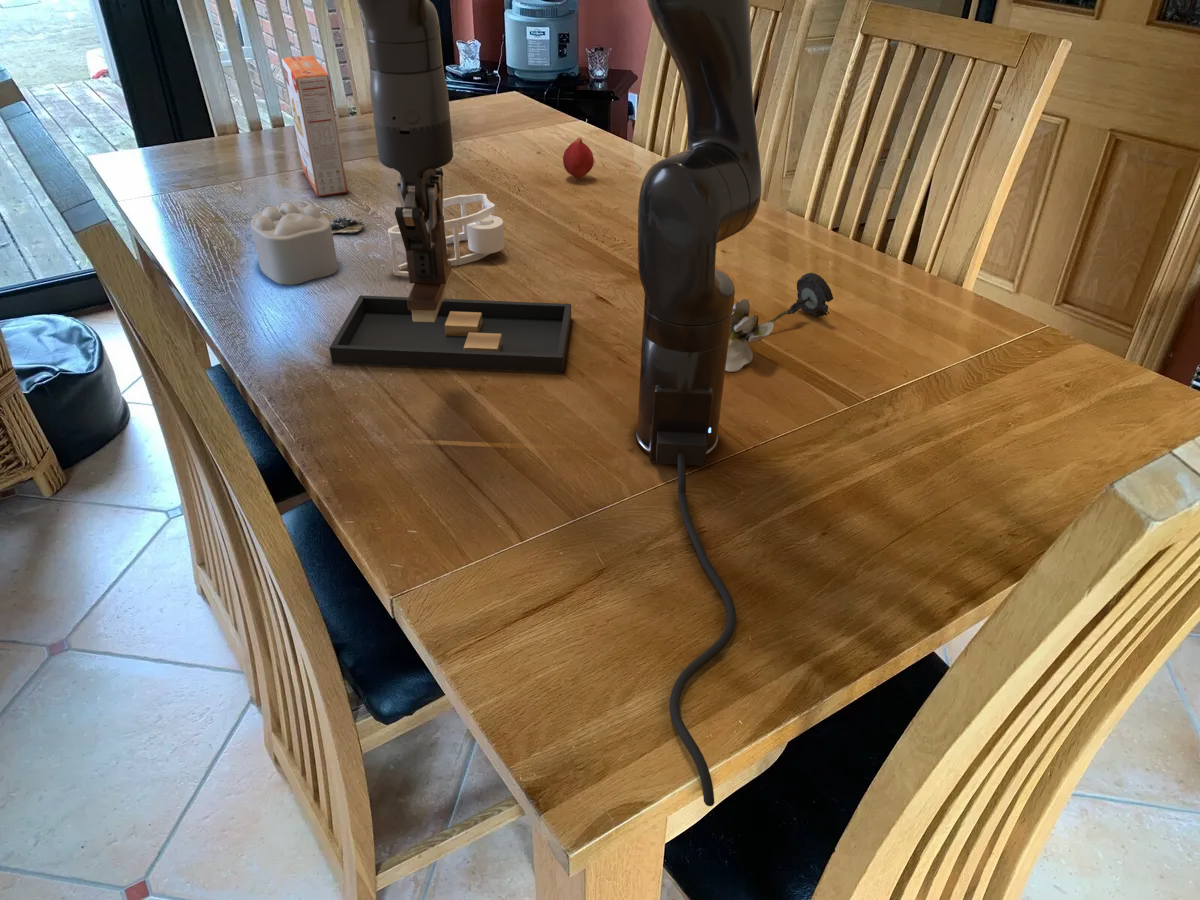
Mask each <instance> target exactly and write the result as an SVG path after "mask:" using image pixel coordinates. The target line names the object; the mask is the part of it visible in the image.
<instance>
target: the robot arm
mask: <svg viewBox="0 0 1200 900" xmlns="http://www.w3.org/2000/svg"><path fill="white" fill-rule="evenodd" d="M356 2H357V5H358V6H359V9H360V12H361V15H362V19H363V28H364V38H365V44H366V52H367V59H368V66H369V68H368V69H369V93H370V102H371V109H372V116H373V124H374V125H373V126H374V132H375V139H376V147H377V154H378V155H377V156H378V159H379V162H380V163H381V164H382V165H383V166H385V167H386V168H389V169H393V170H395V171H396V172H398V173H399V174H400V175H399V176H400V179H399V181H400V182H397V184H396V195H397V199H398V201H399V202H400V206H396V207H395V210H394V216H395V220H396V223H397V225H398V226H399V229H400V233H401V236H402V239H403V241H402V242H403V245H404V246H403V247H404V249H406V250H405V252H406V251H411V250H413V258H414V267H415V275H416V279H417V280H418V281H435V279H436V277H437V272H436V262H435V252H434V247H435V242H434V236H433V228H434V227H435V226H436V224H437V215H443V209H444V207H443V199H444V198H443V197H444V192H443V191H444V188H443V186H444V185H443V184H444V183H443V181H444V179H443V176H444V171H443V168H442V167H444V166H446V165H448V164H449V163H450V162H451V161H452V160H453V158H454V146H453V136H452V135H453V134H452V124H451V109H450V99H449V90H448V84H447V80H446V74H445V69H444V61H443V49H442V39H441V27H440V20H439V16H438V15H439V14H438V11H437V9H436V7H435V5H434V3H433V2H431V0H356ZM646 2H647V7H648V9H649V12H650V15H651V17H652V20H653V23H654V25H655V27H656V29H657V30H658V32H659V35H660V37H661V39H662V41H663V43H664V45H665V47H666V49H667V51H668V53H669V54H670V56H671V58H672V60H673V62H674V64H675V67H676V69H677V71H678V73H679V77H680V81H681V82H682V87H683V91H684V97H685V105H686V120H687V144H686V149H685V150H683V151H680V152H678V153H676V154H672V155H670V156H667V157H665V158H663V159H661V160H659V161H657V162H656V163H654V164H653V165H652V166H651V167H650V168H649V170H648V171H647V172H646V173H645V175H644V178H643V180H642V183H641V187H640V190H639V195H638V197H639V198H638V207H637V268H638V275H639V279H640V283H641V285H642V288H643V292H644V301H643V302H644V303H643V318H642V334H641V349H640V350H641V351H640V353H641V354H640V367H639V369H640V370H639V371H640V372H639V387H638V389H639V390H638V403H637V404H638V406H637V426H636V430H635V439H636V443H637V445H638V447H639V448H640V449H641V450H642V451H643V452H645V453H646V454H647V455H648V456H649V461H650V462H655V464H660V465H661V464H662V465H677V497H678V503H679V508H680V514H681V517H682V521H683V523H684V527H685V529H686V531H687V534H688V536H689V538H690V540H691V542H692V545H693V548H694V551H695V552H696V555H697V556H698V559H699V561H700V563H701V566H702V567H703V569H704V571H705V573H706V574H707V576H708V577H709V579H710V580H711V582H712V583H713V585H714V586H715V588H716V589H717V591H718V592H719V595H720V597H721V598H722V601H723V604H724V607H725V612H726V613H725V614H726V621H725V627H724V629H723V632H722V633H721V635H720V637H718V639H717V640H716V641H715V642H714V643H713V644H712V645H711V646H710V647H709V648H708V649H706V650H705V651H704V652H702V653H701V654H700V655H699V656H698V657H696V658H695V659H694V660H693V661H691V662H690V663H689V665H687V666H686V667H685V668H684V669H683V670H682V672H681V673H680V674H679V676H678V677H677V678H676V680H675V683H674V684H673V687H672V688H671V693H670V696H669V704H668V707H669V715H670V719H671V722H672V724H673V727H674V730H675V731H676V734H677V735H678V737H679V738H680V739H681V741H682V743H683V744H684V746H685V748H686V749H687V751H688V753H689V754H690V756H691V758H692V760H693V762H694V764H695V766H696V768H697V773H698V775H699V778H700V784H701V788H702V797H703V803H704V804H705V806H707V807H713V806H714V805H715V793H714V792H715V791H714V785H713V781H712V775H711V772H710V770H709V767H708V763H707V762H706V761H707V760H706V759H705V757H704V754H703V753H702V751H701V749H700V747H699V746H698V744H697V742H696V741H695V739H694V737H693V736H692V734H691V732H689V730H688V728H687V726H686V725H685V723H684V721H683V718H682V715H681V707H680V704H681V697H682V692H683V690H684V688H685V686H686V685H687V683H688V682H689V680H690V679H691V678H692V677H693V676H694V675H695V674H696V673H697V672H698V671H700V669H702V668H703V667H704V666H705V665H706V664H707V663H708V662H710V661H712V659H714V658H715V657H716V656H717V655H719V653H720V652H722V650H723V649H724V648H725V647H726V646H727V645H728V643H729V642H730V640H731V638H732V636H733V634H734V632H735V628H736V624H737V611H736V605H735V602H734V600H733V597H732V595H731V593H730V591H729V589H728V587H727V586H726V585H725V582H724V581H723V579H722V578H721V577H720V575H719V574H718V572H717V570H716V569H715V568H714V567H713V565H712V563H711V561H710V559H709V557H708V555H707V552H706V551H705V548H704V546H703V544H702V541H701V539H700V537H699V535H698V532H697V530H696V527H695V526H694V523H693V520H692V517H691V514H690V510H689V505H688V500H687V472H686V471H687V470H686V466H705V464H706V460H707V457H709V456H710V455H711V454H713V452H715V450H716V449H717V446H718V443H719V442H718V441H719V427H720V418H721V410H722V409H721V408H722V401H723V391H724V384H725V375H726V371H725V368H726V359H727V351H728V343H729V336H730V327H731V319H732V311H733V307H734V305H735V303H734V301H735V294H736V291H735V284H734V282H733V280H732V278H730V276H729V275H727V274H726V273H725V272H723V271H721V270H720V269H718V268H716V257H717V246H718V245H717V244H718V243H720V242H722V241H725V240H726V239H729V238H731V237H732V236H734V235H736V234H738V233H739V232H741V231H742V230H744V229H745V228H746V227H748V226H749V224H750V223H751V222H752V221H754V218H755V217H756V215H757V213H758V209H759V207H760V205H761V204H760V203H761V197H762V169H761V158H760V149H759V141H758V139H759V138H758V131H757V124H756V123H757V122H756V114H755V104H754V91H753V75H752V74H753V73H752V69H753V68H752V34H751V33H752V31H751V0H646ZM429 216H430V218H429V219H424V217H429ZM415 237H416V238H415Z"/></svg>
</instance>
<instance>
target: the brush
mask: <svg viewBox="0 0 1200 900" xmlns="http://www.w3.org/2000/svg"><path fill="white" fill-rule="evenodd" d="M429 218H430V216H429V217H424V219H429ZM444 221H445V215H444V216H443V215H437V224H436V226H435V227H434V228H433V236H434V242H435V247H434V252H435V262H436V272H437V277H436V279H435V281H418V280H417V279H416V275H415V267H414V258H413V250H411V251H406V249H405V248H404V249H405V256H406V257H405V258H406V263H407V266H408V267H407V272H408V274H409V276H408V281H409V284H413V285H412V287H411V290H410V293H409V295H408V296H407V297H408V299H407V305H408V310H411V312H412V320H413V322H435V320H436V317H437V314H438V312H439V309H440V306H441V304H442V301H443V299H445V296H446V292H447V290H448V288H449V285H450V283H451V281H450V280H451V279H450V274H451V271H452V265H451V261H450V260H449V258H448V254H447V249H448V246H447V247H446V237H447V236H446V237H445V233H446V229H445V226H444ZM415 238H416V237H415Z"/></svg>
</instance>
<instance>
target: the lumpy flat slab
mask: <svg viewBox="0 0 1200 900" xmlns="http://www.w3.org/2000/svg"><path fill="white" fill-rule="evenodd" d="M330 223H331V229H332V234H336V233H347V234H355V233H358V232H359V231H362V230H363V227H366V224H365V223H364V221H363V218H352V217H351V218H350V217H341V216H340V217H337V218H335V219H333V220H332V221H330Z"/></svg>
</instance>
